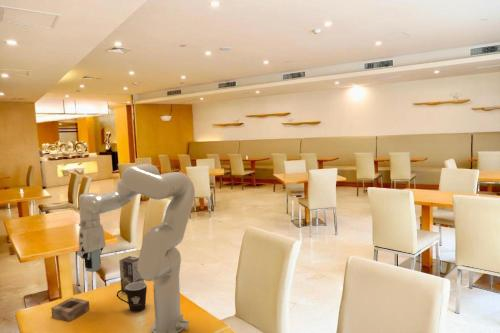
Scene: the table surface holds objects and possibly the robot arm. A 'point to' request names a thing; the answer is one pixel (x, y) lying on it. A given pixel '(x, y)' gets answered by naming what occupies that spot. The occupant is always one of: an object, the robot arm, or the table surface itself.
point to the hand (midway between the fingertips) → (93, 265)
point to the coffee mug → (135, 296)
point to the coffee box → (129, 272)
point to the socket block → (70, 309)
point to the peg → (94, 261)
